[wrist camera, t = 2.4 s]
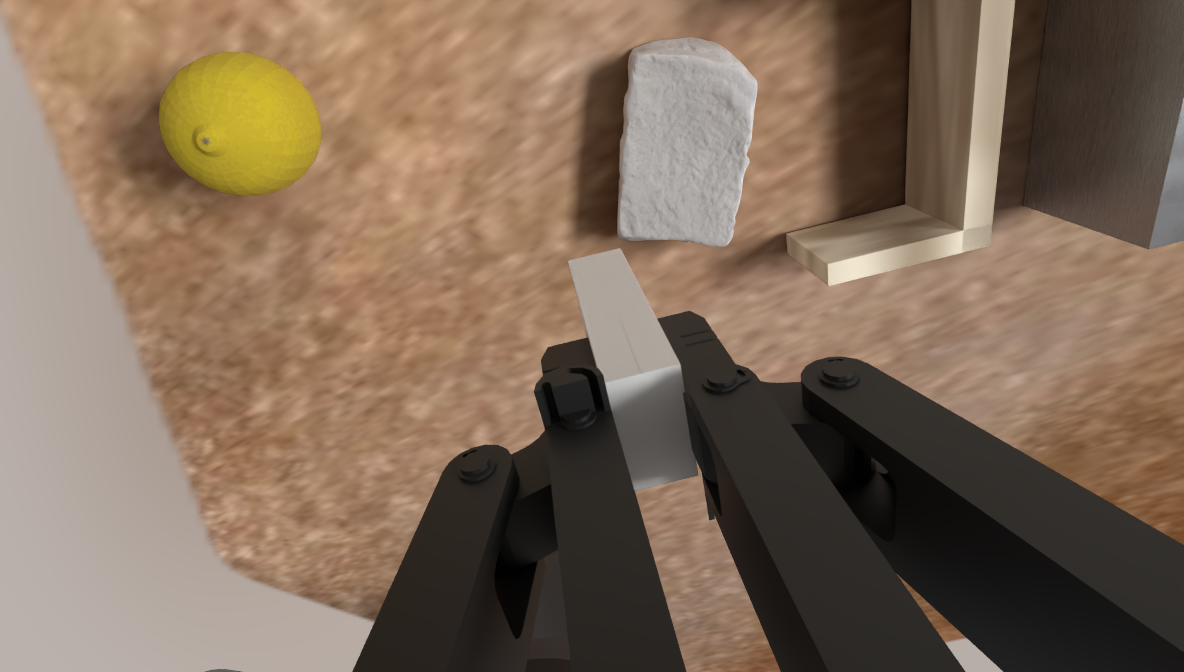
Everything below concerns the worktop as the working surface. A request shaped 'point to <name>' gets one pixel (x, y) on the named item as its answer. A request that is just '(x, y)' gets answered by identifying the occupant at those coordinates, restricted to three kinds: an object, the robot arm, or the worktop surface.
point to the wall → (1111, 119)
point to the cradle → (932, 150)
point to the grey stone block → (684, 142)
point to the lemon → (240, 124)
